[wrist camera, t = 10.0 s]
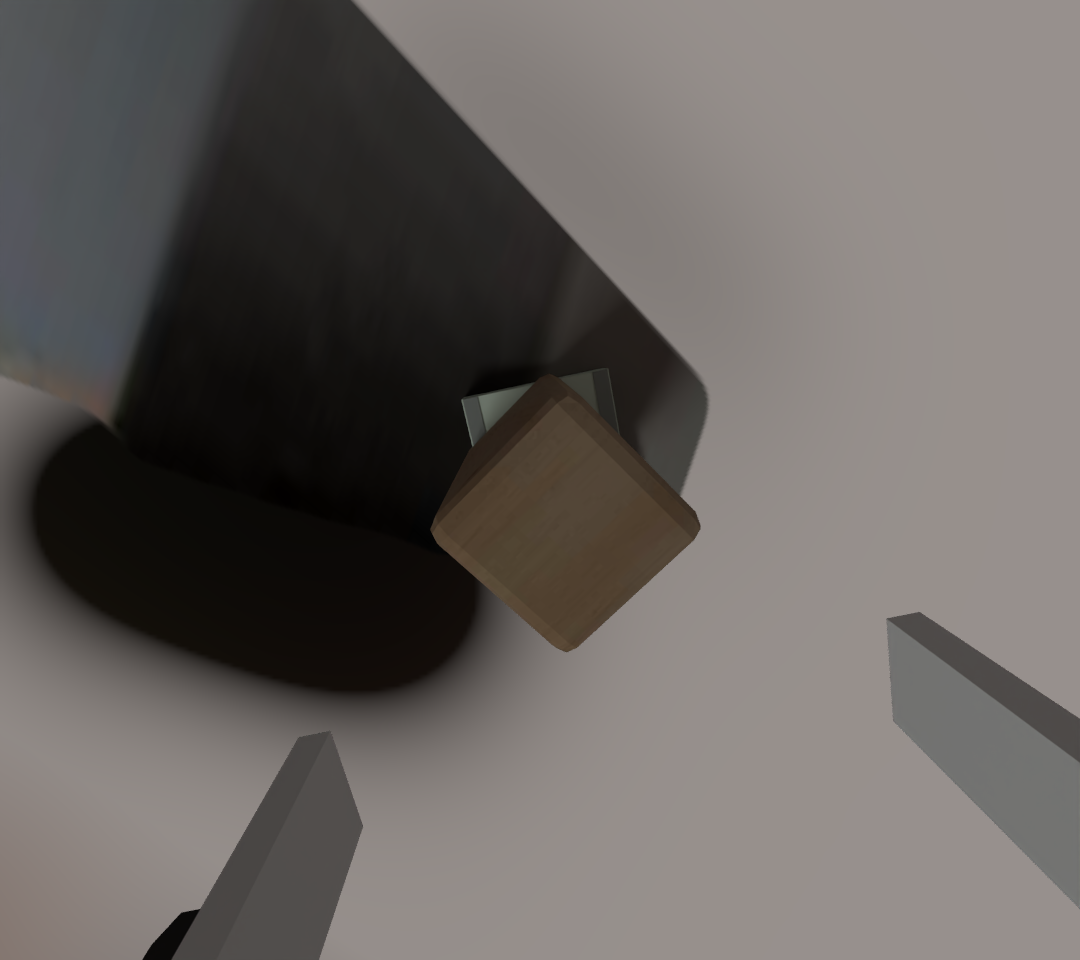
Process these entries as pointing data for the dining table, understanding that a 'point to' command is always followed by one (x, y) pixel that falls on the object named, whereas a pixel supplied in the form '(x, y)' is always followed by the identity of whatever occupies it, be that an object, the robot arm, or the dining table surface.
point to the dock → (495, 404)
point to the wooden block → (561, 515)
